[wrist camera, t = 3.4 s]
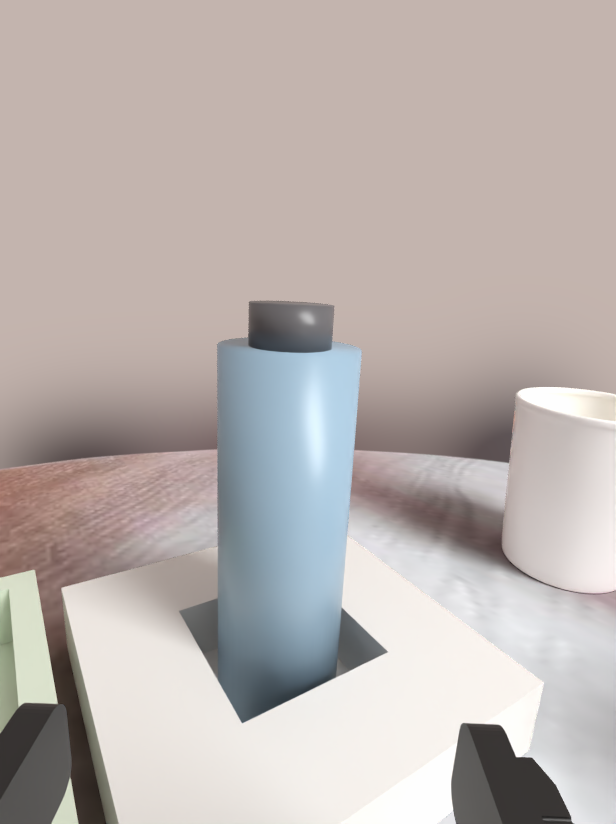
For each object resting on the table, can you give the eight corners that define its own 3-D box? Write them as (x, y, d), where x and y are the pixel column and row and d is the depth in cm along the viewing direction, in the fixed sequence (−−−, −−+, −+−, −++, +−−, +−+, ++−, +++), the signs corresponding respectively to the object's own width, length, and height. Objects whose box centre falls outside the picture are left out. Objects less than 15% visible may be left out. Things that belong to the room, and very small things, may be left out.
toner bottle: (200, 667, 24) (195, 297, 19) (296, 628, 27) (312, 300, 22) (250, 760, 19) (260, 309, 15) (358, 701, 22) (396, 310, 18)
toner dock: (67, 647, 25) (61, 587, 24) (321, 564, 34) (323, 517, 33) (155, 1047, 12) (150, 953, 12) (529, 750, 21) (543, 682, 20)
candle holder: (664, 616, 30) (717, 433, 27) (496, 584, 33) (527, 412, 29) (612, 539, 39) (648, 395, 36) (485, 518, 42) (507, 381, 38)
